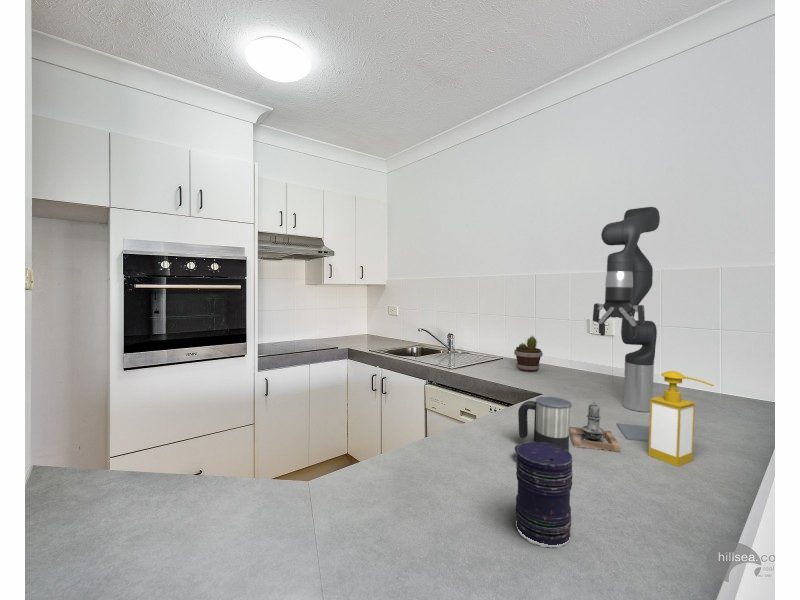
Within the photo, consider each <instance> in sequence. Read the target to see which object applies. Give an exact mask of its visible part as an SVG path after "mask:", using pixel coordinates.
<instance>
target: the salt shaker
mask: <svg viewBox="0 0 800 600" xmlns="http://www.w3.org/2000/svg"><path fill="white" fill-rule="evenodd" d="M600 410H601V407H600V406H599V405H598V404H597V403H596V402H595V401H593V402H592V403H591V404H589V405H588V415H586V417H587V425H584V426H582V427H581V428H582V429H583V430H584V434H585V435H584V436H586V437H584V438H585V440H586V441H594V442H603V440H602V438H603V437H602V436H603V433H604V432H605V431H606V430H605V429H602V428H601V427H600V426H601V425H600V420H601V419H602V418H601V416H600ZM604 430H605V431H604Z"/></svg>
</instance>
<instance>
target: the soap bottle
mask: <svg viewBox="0 0 800 600" xmlns="http://www.w3.org/2000/svg"><path fill="white" fill-rule="evenodd" d="M660 375H661V376H662V377H663V378H664V379H663V381H664V382H665V383H666V382H667V383H668V384H669V387H668V388H667V389H664V395H661V396H657V397H653V398H652V399H650V400H651V401H650V411H649V426H648V427H649V442H648V452H647V453H648V456H649V457H651V458H655V459H657V460H659V461H662V462H665V463H667V464H670V465H673V466H675V467H681V466H682V465H685V464H688V463H691V462H693V461H694V459H693V458H694V436H695V435H694V433H695V411H696V409H695V408H696V402H695V401H690V400H686V399H682V391H680V390H677V387H678V386H677V384H682V383H683V380H684V379H687V380H692V381H697V382H700V383H703V384H706V385H709V386H711V387H714V386H715V384H714V383H711V382H708V381H705V380H701V379H698V378H694V377H690V376H686V375H684V374H683V373H681V372H679V371H676V370H675V371H674V370H667V371H664V372H662V373H661V374H660Z"/></svg>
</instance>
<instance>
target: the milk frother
mask: <svg viewBox="0 0 800 600" xmlns="http://www.w3.org/2000/svg"><path fill="white" fill-rule="evenodd" d="M571 407H573V403H572V402H571V401H570V400H568V399H565V398H561V397H558V396H557V397H555V396H549V395H548V396H545V395H544V396H543V395H542V396H537V397H536V398H535V401H534V400H528V401H525V402H523V403H522V404H521V405H520V406H519V408H518V413H517V414H518V436H519V438H520V439H522V440H523V439H526V438H527V437H528V435H529V434H528V433H529V429H528V427H529V426H528V410H533V411H534V422H533V423H534V425H533V427H534V429H533V442H542V443H548V444H552V445H556V446H559V447H561V448H563V449H565V450H567V451H568V452H569V453H570V451H569V450H570V433H569V427H570V424H571V423H570V421H571ZM519 445H520V444H517V445H515V446H514V451H515V453H516V454H517V448H518V446H519Z"/></svg>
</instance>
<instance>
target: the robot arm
mask: <svg viewBox="0 0 800 600" xmlns="http://www.w3.org/2000/svg"><path fill="white" fill-rule="evenodd" d="M660 216H661V215H660V212H659V209H658V208H657V207H656V206H655V207H654V206H645V207H637V208H630V209H627V210H626V211H625V212H624V214H623V219H622V220H620V221H615V222H610V223H607V224H606V225H605V226H603V228H602V230H601V232H600V233H601V234H600V236H601V240H602V242H603V243H604V244H605V245H607V246H624V247H623V249H622V250H620V251H616V252H612V253H610V254H608V255H607V258H606V259H607V260H606V276H605V283H604V285H605V291H604V293H605V294H604V303H603V304H602V303H599V302H596V303H594V304H593V311H592V312H593V313H592V322H596V323H597V324H598V333H599V334H600V336H605V335H606V323H605V322H607V320H608V319H610V318H614V319H615V318H618V319H621V328H620V335H621V340H622V343H623V344H625V345H633V346H634V345H635V346H641V347H640V348H639V349H637V350H635V351H632V352H629V353H626V354H625V357H624V382H623V383H624V384H623V407H624V408H625V409H628V410H631V411H636V412H642V413H643V412H645V413H647V412H649V413H650V401H651V400H650V399H652V398H654V371H655V370H654V369H655V357H656V346H657V337H658V336H657V335H658V332H657V331H658V329H657V326H656V323H655V322H654V321H652V320H645V316H646V315H645V305H643V304H640V303H641V302H642V301H643V300H644V298H645V297H646V296H647V294H648V293H650V290H651V288H652V286H653V276H654V274H653V273H654V271H653V270H654V269H653V265H652V263H651V262H650V260H649V259H648V258H647V256H646V255H645V254H644V253H643V252H642V250H641V248H640V246H639V245H638V242H639V240H640V237H641V234H644V233H651V232H655V231H656V230H657V229H658V228H659V225H660V221H661V219H660V218H661V217H660ZM603 309H604V311H605V313H604V314H603V315H602V317H600V313H601V310H603ZM636 313H637V320H636V318H635V314H636Z"/></svg>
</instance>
